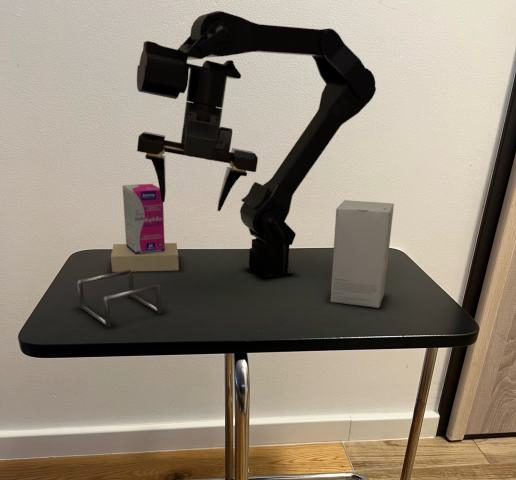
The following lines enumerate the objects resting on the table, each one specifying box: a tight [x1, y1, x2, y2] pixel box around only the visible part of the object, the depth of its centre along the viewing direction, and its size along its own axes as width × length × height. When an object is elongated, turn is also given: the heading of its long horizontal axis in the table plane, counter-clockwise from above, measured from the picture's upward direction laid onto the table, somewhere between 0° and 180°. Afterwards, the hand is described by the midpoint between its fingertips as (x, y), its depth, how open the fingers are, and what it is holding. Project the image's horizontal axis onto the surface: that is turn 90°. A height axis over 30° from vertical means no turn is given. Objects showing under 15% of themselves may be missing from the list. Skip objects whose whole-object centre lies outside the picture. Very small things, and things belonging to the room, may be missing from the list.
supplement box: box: [122, 183, 166, 254], centre depth 99 cm, size 6×6×12 cm
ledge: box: [110, 242, 180, 273], centre depth 102 cm, size 12×8×3 cm, turn 100°
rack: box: [76, 270, 163, 329], centre depth 82 cm, size 9×9×5 cm
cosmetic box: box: [330, 199, 395, 309], centre depth 86 cm, size 8×7×16 cm
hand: (191, 206), depth 90 cm, fingers open, 9 cm apart
